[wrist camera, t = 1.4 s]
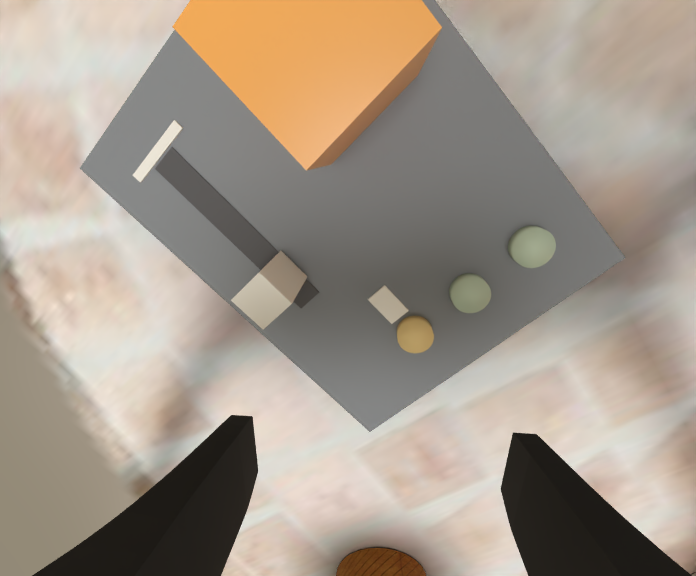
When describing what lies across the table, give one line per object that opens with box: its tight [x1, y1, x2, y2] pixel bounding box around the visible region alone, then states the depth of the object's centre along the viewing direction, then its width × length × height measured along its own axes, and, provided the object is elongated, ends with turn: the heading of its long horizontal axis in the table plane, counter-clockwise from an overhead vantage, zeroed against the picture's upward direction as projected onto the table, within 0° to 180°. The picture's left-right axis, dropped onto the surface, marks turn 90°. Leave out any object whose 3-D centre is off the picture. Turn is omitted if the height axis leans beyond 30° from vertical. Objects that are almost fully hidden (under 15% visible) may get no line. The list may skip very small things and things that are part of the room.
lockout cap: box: [173, 0, 442, 171], centre depth 11 cm, size 4×4×5 cm
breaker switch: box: [231, 251, 307, 329], centre depth 14 cm, size 2×2×3 cm
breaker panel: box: [80, 0, 625, 432], centre depth 15 cm, size 18×14×2 cm
